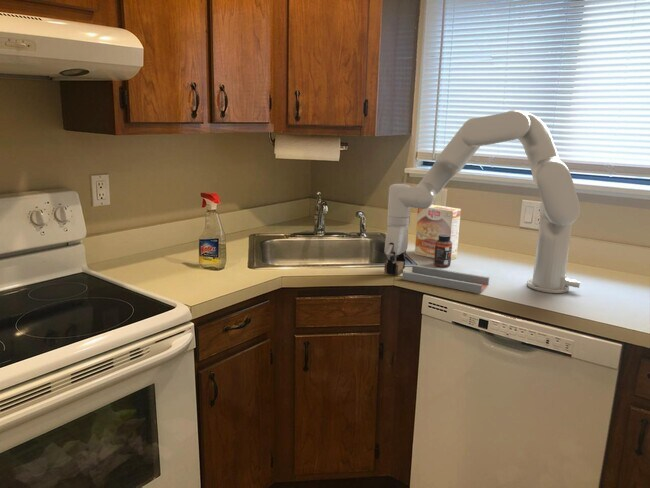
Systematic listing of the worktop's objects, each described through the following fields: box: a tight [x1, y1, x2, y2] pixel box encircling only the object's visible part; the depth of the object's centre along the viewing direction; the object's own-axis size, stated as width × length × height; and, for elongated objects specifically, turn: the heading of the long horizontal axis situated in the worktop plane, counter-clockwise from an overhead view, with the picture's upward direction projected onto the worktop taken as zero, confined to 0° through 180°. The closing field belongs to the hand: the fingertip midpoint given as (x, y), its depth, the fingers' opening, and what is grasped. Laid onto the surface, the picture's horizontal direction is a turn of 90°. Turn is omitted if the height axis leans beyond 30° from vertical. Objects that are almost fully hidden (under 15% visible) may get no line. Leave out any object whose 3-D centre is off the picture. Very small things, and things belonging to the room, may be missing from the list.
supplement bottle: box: [433, 234, 452, 268], centre depth 196 cm, size 6×6×11 cm
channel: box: [401, 264, 490, 294], centre depth 178 cm, size 26×10×2 cm, turn 61°
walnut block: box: [383, 261, 404, 277], centre depth 186 cm, size 5×5×4 cm
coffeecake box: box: [414, 204, 462, 261], centre depth 207 cm, size 15×7×20 cm, turn 49°
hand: (395, 270), depth 186 cm, fingers open, 7 cm apart
